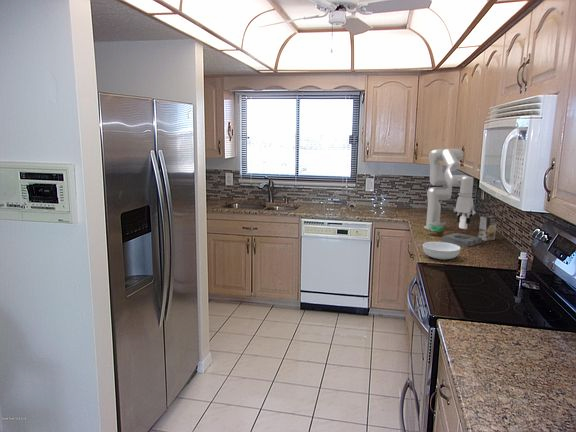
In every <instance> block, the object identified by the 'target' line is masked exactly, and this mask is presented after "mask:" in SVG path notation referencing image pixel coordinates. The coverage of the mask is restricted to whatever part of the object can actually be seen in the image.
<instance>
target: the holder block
mask: <svg viewBox="0 0 576 432" xmlns="http://www.w3.org/2000/svg"><path fill="white" fill-rule="evenodd" d="M482 241H483V240H482V238H480V237H478V236H476V235H469V234H464V233H458V232H455V233H454V232H453V233H451V234H448V235H443V236H442V238H441V242H446V243H451V244H455V245H458V246H459V247H464V246H465V247H464V248H469V246H470V247H472V246H476V245H479V244H482Z"/></svg>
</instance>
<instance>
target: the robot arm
mask: <svg viewBox="0 0 576 432" xmlns="http://www.w3.org/2000/svg"><path fill="white" fill-rule="evenodd" d="M463 157H464V153H463V151H462V149H460V148H445V149H444V148H438V149H432V150H430V152H429V154H428V162H429V167H430V168H429V183H430V185H431V186H433V187H428V189H427V192H426V194H427V195H426V196H427V211H426V220H425V221H426V222H425V223H426V225H424V226H423V228H424V229H425V230H428V231H429V223H428V222H429V221H432V222H441V209H442V206H441V203H440V201H446V200H447V201H448V200H450V199H451V197H452V191H453V187H459V188H460V189H459V192H458V193H457V195H458V197H457V199H456V203H455V208H453V212H454V213H455V214H456V216H457V217H456V218H457V219H456V222H457V223H459V219H460V216H462V213H466V217H467V219H466V224H467V225H468V224H470V223H471V218H472V217H473V216H474V215H476V214H477V213H476V211H475V210H474V199H473V189H474V187H473V186H474V177H472V176H468V175H466V174H453V173H452V172H454V171H456V170H457V169H459V167H460V165H461V164H460V161H461V160H462V159H463ZM442 162H444V164H445V166H446V168H445V171H444V172H443V165H442V164H441V163H442ZM439 186H440V187H439Z"/></svg>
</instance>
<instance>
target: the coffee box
mask: <svg viewBox="0 0 576 432" xmlns="http://www.w3.org/2000/svg"><path fill="white" fill-rule="evenodd" d="M479 219H480V220H479V229H478V236H477V237H480V238H482V241H484V242H485V241H493V240H495V239H496V229H497V225H498V224H497V223H498V221H497V220H498V216H494V215H481V216H480V218H479Z"/></svg>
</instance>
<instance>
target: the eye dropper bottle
mask: <svg viewBox="0 0 576 432" xmlns="http://www.w3.org/2000/svg"><path fill="white" fill-rule="evenodd" d="M466 219H467V213H461V215H460V219H459V222H458V228H459V229H460V230H461V229H462V230H467V229H468V224H466Z"/></svg>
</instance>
